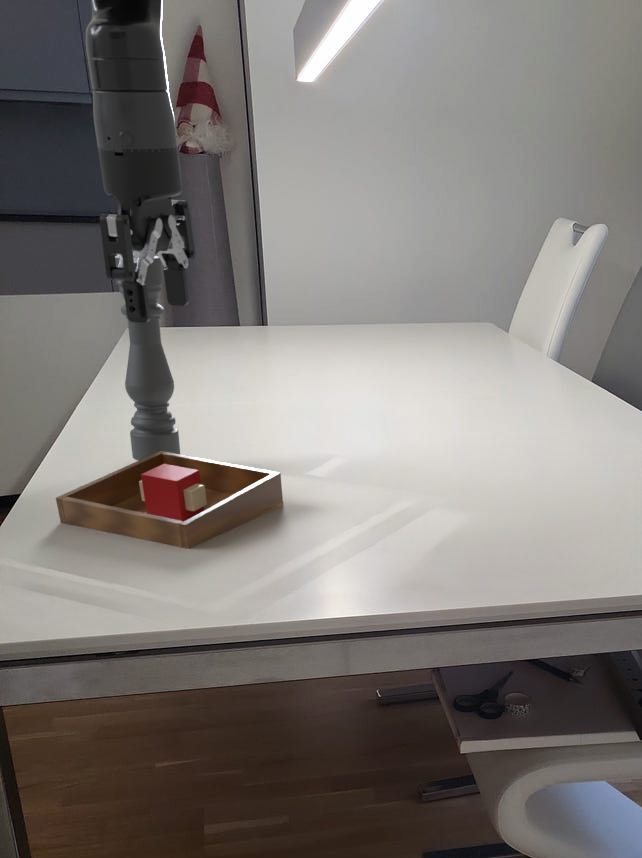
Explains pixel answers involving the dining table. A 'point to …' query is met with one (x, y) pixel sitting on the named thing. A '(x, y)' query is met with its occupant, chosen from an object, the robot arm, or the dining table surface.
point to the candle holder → (150, 376)
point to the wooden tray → (121, 514)
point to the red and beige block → (173, 492)
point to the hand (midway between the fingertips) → (159, 313)
